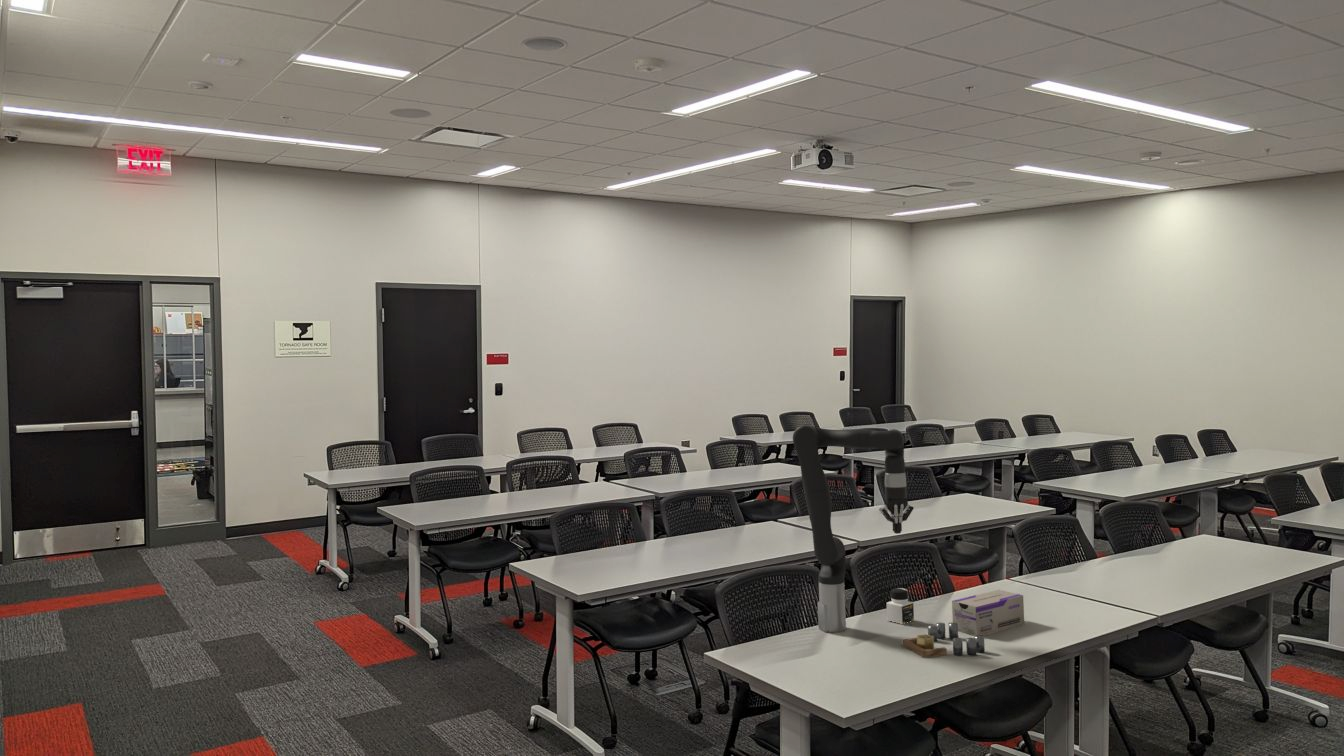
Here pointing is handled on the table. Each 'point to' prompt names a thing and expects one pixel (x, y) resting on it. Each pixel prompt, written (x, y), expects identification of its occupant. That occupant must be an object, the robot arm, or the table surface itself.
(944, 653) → the walnut bay
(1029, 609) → the table surface
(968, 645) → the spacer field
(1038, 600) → the table surface
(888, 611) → the medicine bottle
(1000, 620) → the surgical sutures box
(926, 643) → the brass nut
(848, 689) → the table surface
